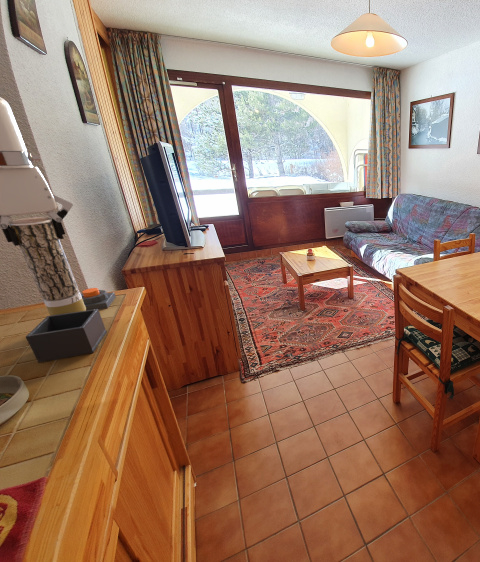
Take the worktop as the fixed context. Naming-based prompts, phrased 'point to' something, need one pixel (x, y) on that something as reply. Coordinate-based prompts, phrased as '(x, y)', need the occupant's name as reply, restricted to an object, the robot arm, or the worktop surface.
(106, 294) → the block
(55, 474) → the worktop surface
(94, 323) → the dock
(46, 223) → the bark log cylinder
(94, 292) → the release button
